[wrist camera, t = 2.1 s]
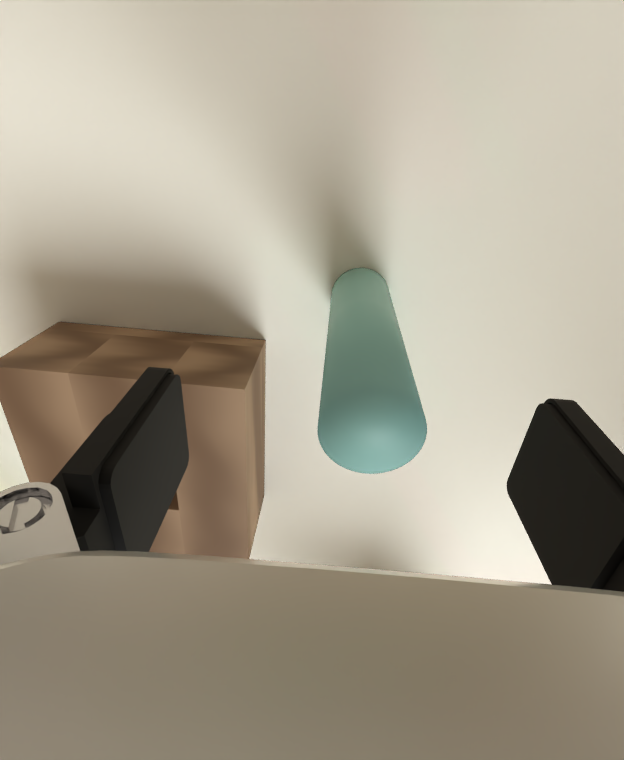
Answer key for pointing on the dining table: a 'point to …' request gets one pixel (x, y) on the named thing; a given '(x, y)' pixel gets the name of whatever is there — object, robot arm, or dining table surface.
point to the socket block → (201, 407)
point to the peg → (368, 381)
